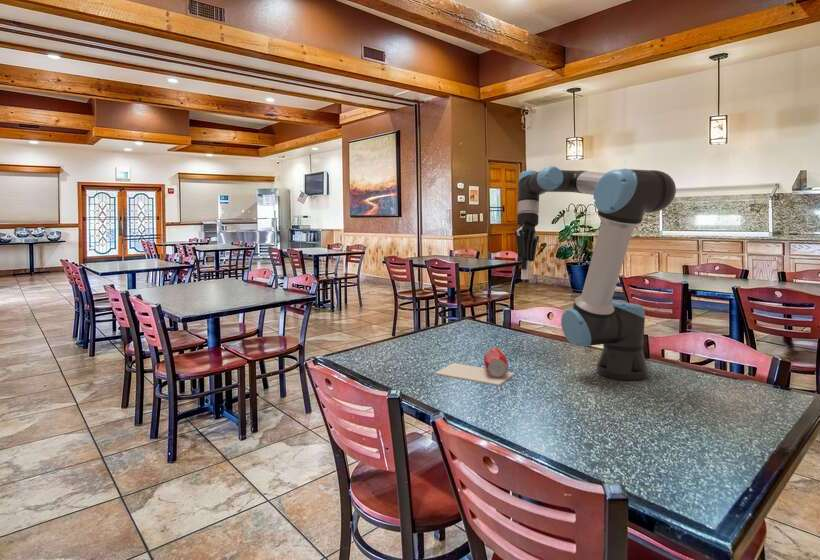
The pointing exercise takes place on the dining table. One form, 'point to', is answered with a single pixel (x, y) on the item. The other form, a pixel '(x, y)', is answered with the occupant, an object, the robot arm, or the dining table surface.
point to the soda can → (495, 362)
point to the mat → (472, 374)
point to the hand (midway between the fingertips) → (525, 279)
